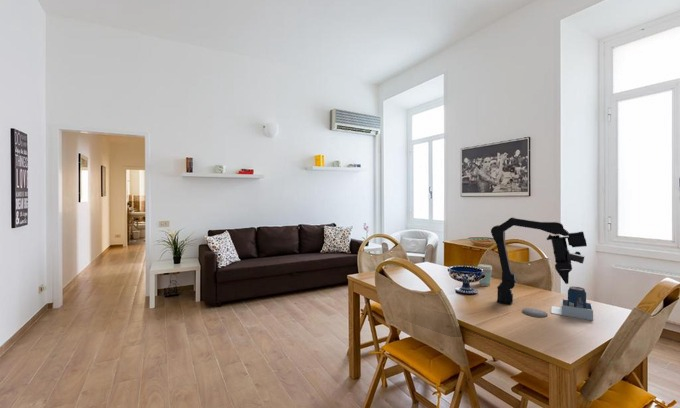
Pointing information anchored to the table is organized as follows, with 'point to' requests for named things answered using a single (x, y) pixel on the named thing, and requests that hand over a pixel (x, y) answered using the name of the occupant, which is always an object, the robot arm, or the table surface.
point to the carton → (574, 311)
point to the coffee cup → (486, 274)
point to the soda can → (577, 297)
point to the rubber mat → (534, 312)
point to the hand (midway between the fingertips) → (566, 281)
